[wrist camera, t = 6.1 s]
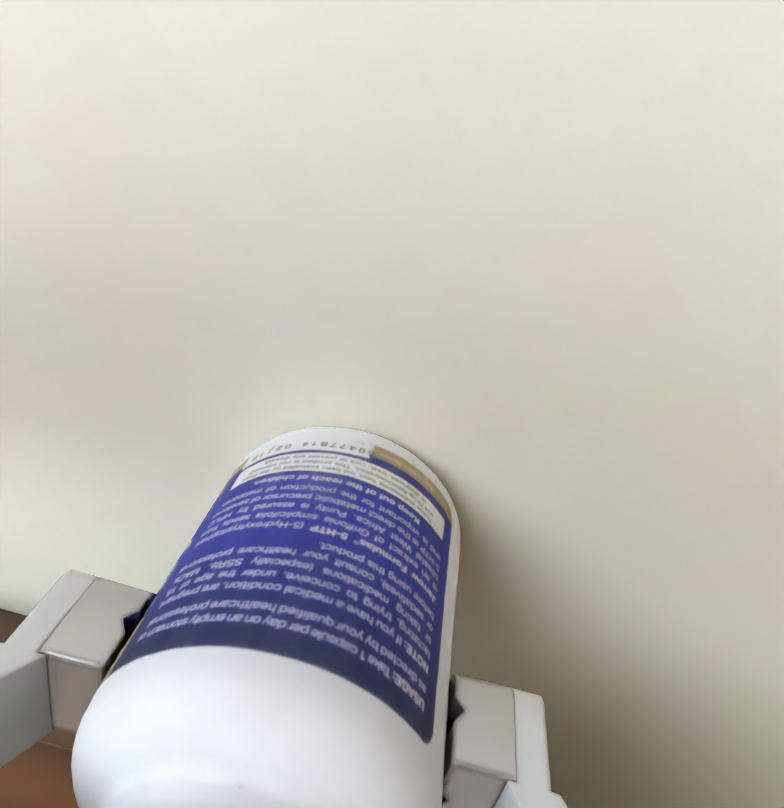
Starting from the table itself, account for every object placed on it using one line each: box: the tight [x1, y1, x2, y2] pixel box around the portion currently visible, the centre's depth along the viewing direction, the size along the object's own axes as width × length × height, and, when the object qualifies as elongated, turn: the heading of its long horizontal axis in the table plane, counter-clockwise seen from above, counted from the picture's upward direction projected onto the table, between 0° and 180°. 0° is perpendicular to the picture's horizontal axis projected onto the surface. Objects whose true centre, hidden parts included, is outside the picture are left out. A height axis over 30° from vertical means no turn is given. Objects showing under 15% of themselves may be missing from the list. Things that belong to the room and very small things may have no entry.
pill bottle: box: [71, 426, 460, 808], centre depth 10 cm, size 5×5×9 cm
